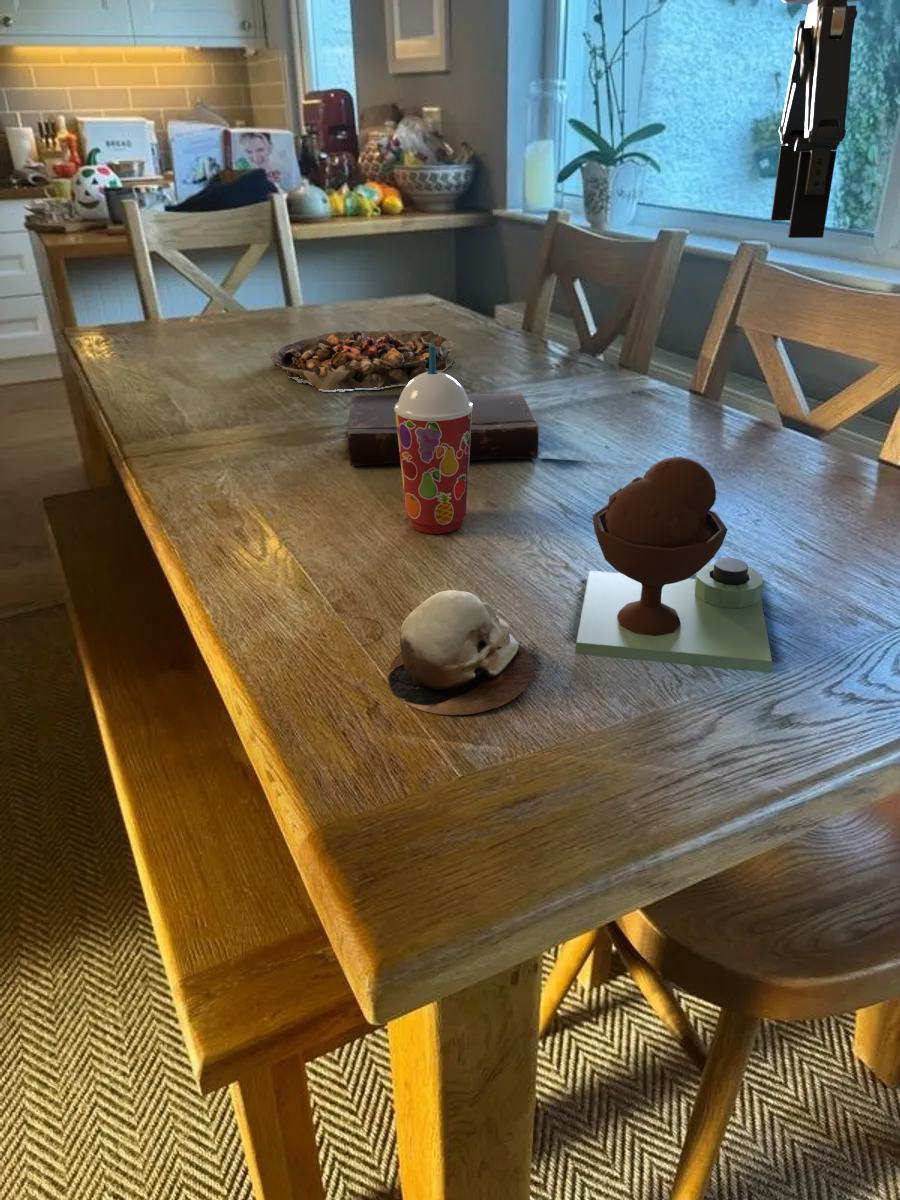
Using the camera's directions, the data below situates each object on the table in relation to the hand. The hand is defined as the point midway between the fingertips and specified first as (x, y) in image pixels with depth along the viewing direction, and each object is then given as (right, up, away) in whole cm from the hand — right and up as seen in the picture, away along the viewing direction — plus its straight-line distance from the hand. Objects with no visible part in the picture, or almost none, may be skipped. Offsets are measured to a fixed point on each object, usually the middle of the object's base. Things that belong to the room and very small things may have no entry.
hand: (794, 228), depth 82 cm
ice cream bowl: (-14, -36, -2) cm, 38 cm away
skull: (-30, -40, -7) cm, 51 cm away
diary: (-33, -12, +46) cm, 57 cm away
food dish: (-47, +9, +85) cm, 97 cm away
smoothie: (-33, -25, +21) cm, 46 cm away
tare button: (-5, -32, +2) cm, 32 cm away
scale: (-11, -36, 0) cm, 38 cm away
